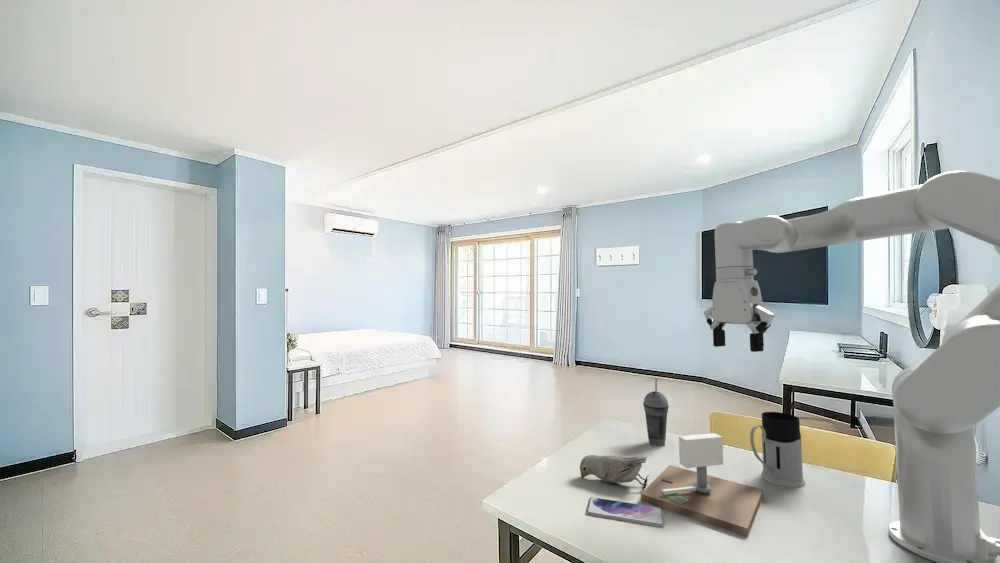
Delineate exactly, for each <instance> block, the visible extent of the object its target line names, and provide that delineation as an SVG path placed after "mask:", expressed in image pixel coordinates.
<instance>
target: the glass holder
mask: <svg viewBox="0 0 1000 563" xmlns="http://www.w3.org/2000/svg"><path fill="white" fill-rule="evenodd" d="M800 424H801V423H800V418H799V417H798V416H796V415H793V414H789V413H785V412H779V411H765V412H762V413H761V425H760V424H756V425H753V426H752V428H751V430H750V432H749V433H750V436H749V440H750V445H751V449H752V452H753V454H754V456H755V457H756V459H757V460H758V461H759V462H760V463H761V464H762V471H761V473H760V476H761V477H762V478H763V479H764V480H766V481H767V482H769V483H772V484H775V485H776V486H777V485H778V486H782V487H786V488H794V489H795V488H802V487H805V486H806V481H805V479H804V476H803V475H804V474H803V473H804V472H803V452H802V449H803V448H802V434H801V430H800V429H801V426H800ZM758 428H760V429H761V451H762V458H761V457H760V455H759V454H758V452H757V449H756V445H755V439H754V437H755V436H754V435H755V431H756V429H758Z"/></svg>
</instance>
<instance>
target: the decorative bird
mask: <svg viewBox="0 0 1000 563" xmlns="http://www.w3.org/2000/svg"><path fill="white" fill-rule="evenodd" d="M647 458H648V456H643V455H642V456H638V455H635V456H622V455H614V454H613V455H606V454H605V455H596V454H589V455H588V454H587V455H585V456H584V457H583V458H582V459H581V460H580V461H581V462H580V465H579V471H580V478H581V479H583V478H585V477H587V476H595V477H596V478H598V479H600V480H601V481H604V482H607V483H610V484H611V483H613V484H621V483H623V484H624V483H631V482H633V480H635V481H637V482H638V483H639V484H640V485H642V486H643V487H642V492H643V491H644V490H645V489H646V488H647V483H648V477H649V476H650V475H647V476H646V478H644V477H642V476H641V475H640V473H639V472H640V471H641V468H642V466H643V465H642V464H646V463H647ZM637 476H639V478H640V479H642V480H643V482H644V483H642V482H641V481H640V480H639V478H638V477H637Z"/></svg>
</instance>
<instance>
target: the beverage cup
mask: <svg viewBox="0 0 1000 563" xmlns="http://www.w3.org/2000/svg"><path fill="white" fill-rule="evenodd" d="M654 385H655V386H654V390H653V391H650V392H648V393H647V394H646V395H645V396H644V398H643V404H642V405H643V410H644V412H645V422H646V431H647V438H648V443H649V445H650V446H654V447H658V448H659V447H660V448H662V447H665V445H666V438H667V419H668V413H669V407H670V406H669V403H668V400H667V398H666V396H665V395H664V394H663V393H661V392H659V391H658V377H655V380H654Z"/></svg>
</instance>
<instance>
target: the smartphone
mask: <svg viewBox="0 0 1000 563" xmlns="http://www.w3.org/2000/svg"><path fill="white" fill-rule="evenodd" d="M585 512H586V515H588V516H591V517H599V518H602V519H603V518H604V519H609V520H615V521H621V522H622V521H623V522H627V523H632V524H638V525H645V526H650V527H655V528H664V527H665V520H664V512H663V508H661V507H658V506H654V505H647V504H646V505H645V504H638V503H633V502H628V501H627V502H626V501H619V500H613V499H605V498H599V497H592V496H591V497H589V500H588V503H587V507H586V511H585Z"/></svg>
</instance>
